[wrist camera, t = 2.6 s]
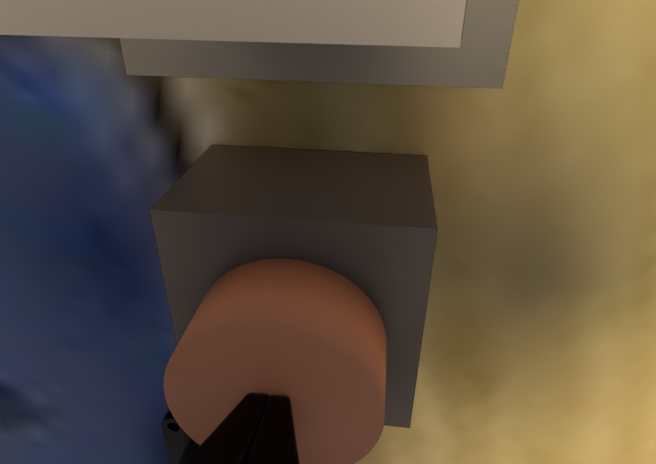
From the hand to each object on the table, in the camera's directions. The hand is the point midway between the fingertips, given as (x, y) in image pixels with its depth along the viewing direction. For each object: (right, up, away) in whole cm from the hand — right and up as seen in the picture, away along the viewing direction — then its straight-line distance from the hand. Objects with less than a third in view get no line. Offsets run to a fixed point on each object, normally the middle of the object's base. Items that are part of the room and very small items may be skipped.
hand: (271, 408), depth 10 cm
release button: (+1, +2, +4) cm, 5 cm away
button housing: (+1, +3, +5) cm, 6 cm away
